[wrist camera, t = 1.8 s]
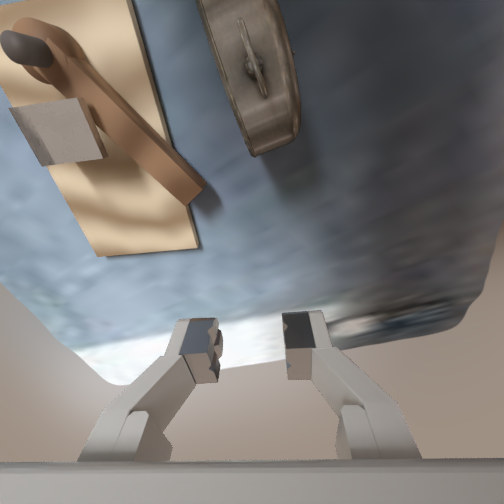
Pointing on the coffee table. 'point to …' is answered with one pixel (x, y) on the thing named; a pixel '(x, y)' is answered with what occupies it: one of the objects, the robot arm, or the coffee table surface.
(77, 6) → the base board
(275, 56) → the alarm clock
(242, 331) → the coffee table surface
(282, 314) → the robot arm
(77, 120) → the keeper
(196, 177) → the link
